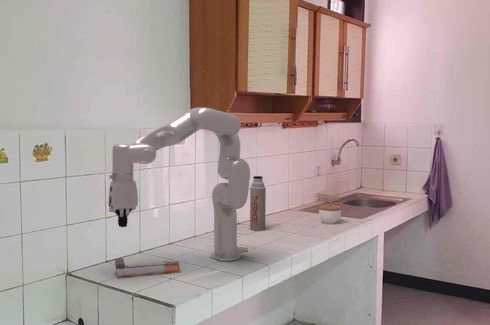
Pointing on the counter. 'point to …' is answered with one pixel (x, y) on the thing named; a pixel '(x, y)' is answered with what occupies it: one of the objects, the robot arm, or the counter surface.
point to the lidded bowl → (330, 213)
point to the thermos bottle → (257, 204)
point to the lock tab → (119, 263)
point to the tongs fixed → (147, 270)
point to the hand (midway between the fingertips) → (122, 226)
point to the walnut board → (148, 274)
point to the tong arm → (153, 264)
